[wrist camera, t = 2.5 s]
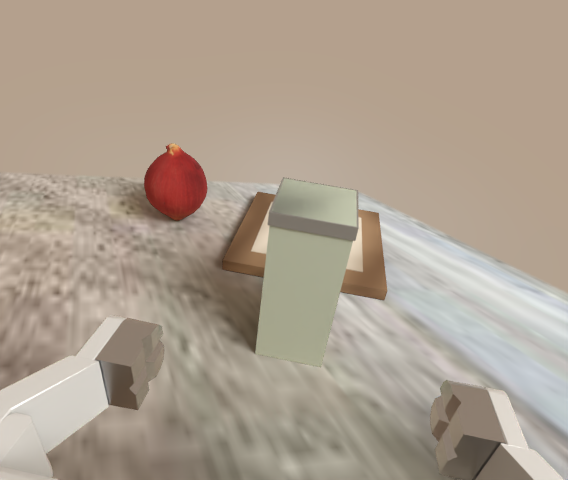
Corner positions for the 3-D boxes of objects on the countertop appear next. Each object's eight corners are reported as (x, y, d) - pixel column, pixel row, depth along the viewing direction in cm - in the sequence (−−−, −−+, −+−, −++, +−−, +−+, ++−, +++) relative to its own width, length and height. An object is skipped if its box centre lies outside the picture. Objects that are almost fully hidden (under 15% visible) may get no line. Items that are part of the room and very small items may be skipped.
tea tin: (253, 354, 26) (268, 212, 20) (266, 307, 30) (283, 177, 24) (322, 368, 26) (358, 228, 20) (326, 319, 30) (357, 190, 24)
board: (222, 269, 33) (222, 259, 33) (256, 199, 45) (257, 191, 44) (384, 300, 32) (387, 290, 32) (376, 220, 44) (378, 212, 44)
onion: (173, 200, 43) (169, 128, 38) (217, 215, 41) (219, 142, 37) (135, 222, 38) (126, 143, 34) (183, 240, 36) (181, 160, 32)
